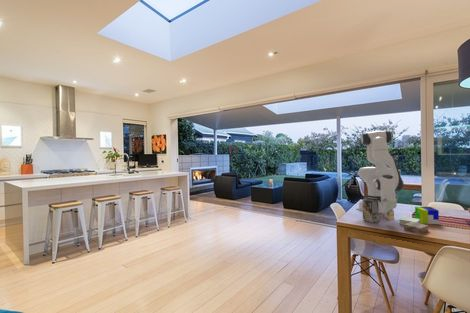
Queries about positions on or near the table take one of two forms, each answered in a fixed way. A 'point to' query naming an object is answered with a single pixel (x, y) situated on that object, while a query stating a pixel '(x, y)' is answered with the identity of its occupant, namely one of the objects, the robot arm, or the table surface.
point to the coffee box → (370, 210)
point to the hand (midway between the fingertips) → (388, 216)
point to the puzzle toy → (427, 215)
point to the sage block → (408, 220)
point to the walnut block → (416, 227)
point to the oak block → (389, 216)
